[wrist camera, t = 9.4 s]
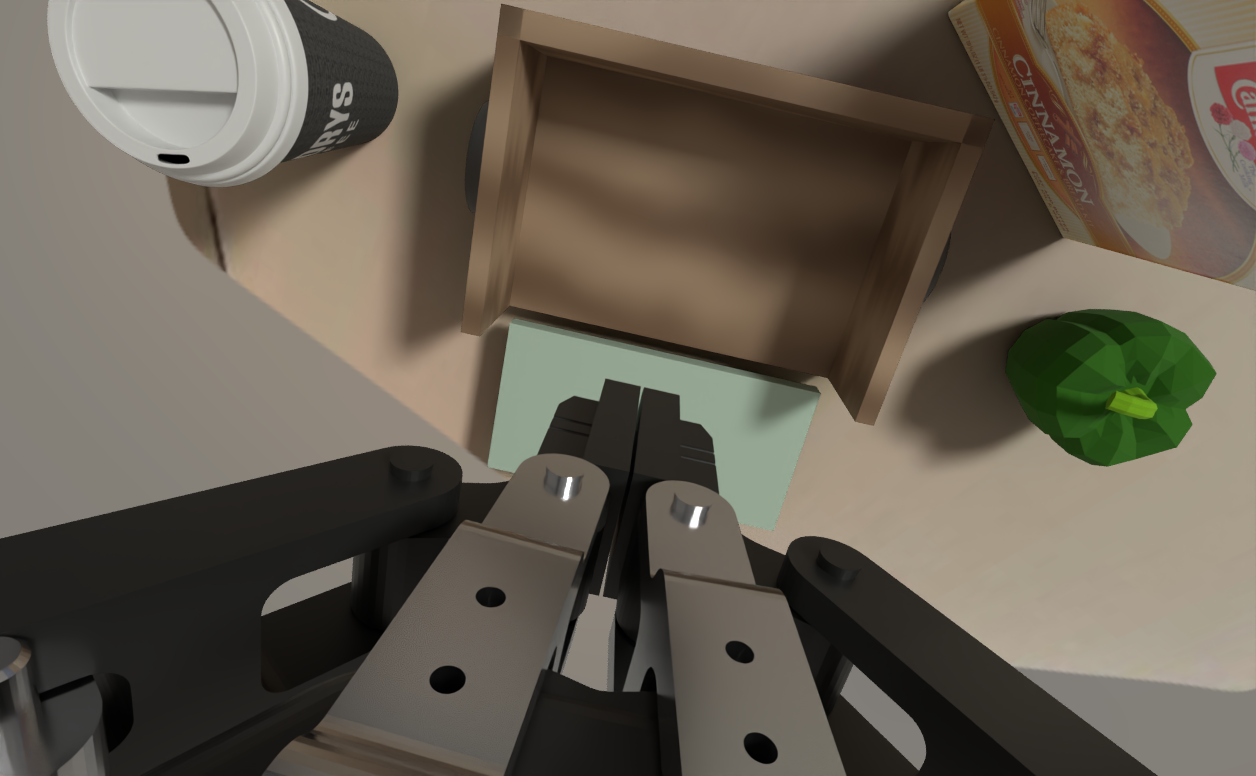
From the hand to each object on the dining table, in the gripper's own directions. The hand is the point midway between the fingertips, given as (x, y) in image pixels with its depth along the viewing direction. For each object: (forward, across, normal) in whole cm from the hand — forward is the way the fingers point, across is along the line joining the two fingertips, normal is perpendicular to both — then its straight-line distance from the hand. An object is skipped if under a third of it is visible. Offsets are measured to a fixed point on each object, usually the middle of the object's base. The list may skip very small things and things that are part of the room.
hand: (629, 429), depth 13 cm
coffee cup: (+29, +20, -4) cm, 36 cm away
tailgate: (+26, -2, +7) cm, 27 cm away
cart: (+29, -2, -1) cm, 29 cm away
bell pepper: (+29, -26, +2) cm, 39 cm away
